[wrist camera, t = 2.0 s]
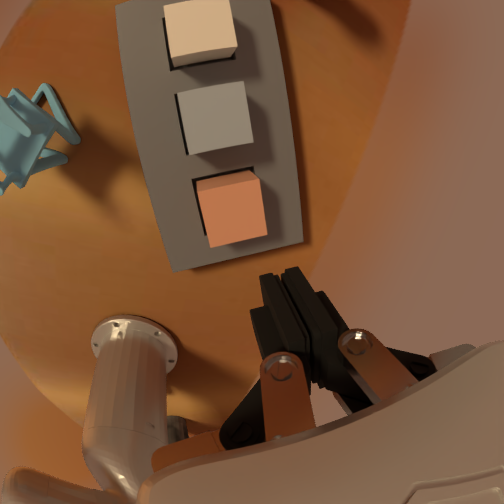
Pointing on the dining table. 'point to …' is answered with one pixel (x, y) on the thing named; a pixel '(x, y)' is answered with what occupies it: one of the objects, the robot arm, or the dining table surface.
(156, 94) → the button panel
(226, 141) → the slate button
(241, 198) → the terracotta button
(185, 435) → the beverage cup
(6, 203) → the dining table surface
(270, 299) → the robot arm
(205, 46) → the cream button
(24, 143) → the chair
